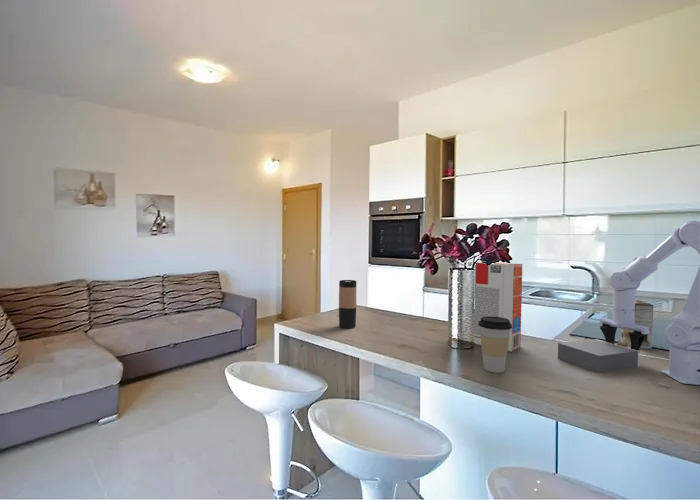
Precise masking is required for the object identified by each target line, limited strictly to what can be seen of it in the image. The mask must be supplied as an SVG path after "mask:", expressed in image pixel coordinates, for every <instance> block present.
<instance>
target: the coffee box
mask: <svg viewBox="0 0 700 500" xmlns="http://www.w3.org/2000/svg"><path fill="white" fill-rule="evenodd" d="M653 319H654V304H652V303H649V302H645V301H642V300H635V315H634V324H637V325H641V326H644V327H648V328H649V334H648V336H647V337H646V339H645V340H644V341H643V343H642V345H641V347H640V349H651V350H652V347H653V346H652V345H653V343H652V342H653V322H654V320H653ZM620 329H621V328H620ZM620 332H621V333H620V341H622V342H626V343H628V347H631V341H630V337H629V333H630V332H634V331H630V330H626V329H621V331H620Z"/></svg>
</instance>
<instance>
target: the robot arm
mask: <svg viewBox="0 0 700 500" xmlns="http://www.w3.org/2000/svg"><path fill="white" fill-rule="evenodd" d="M687 247H690V248H692V249H694V250H695V251H696V252H697V253H698V254H699V255H700V221H698V220H690V221H689V220H688V221H686V222H684V223H682V225H681V226H680V227H678V228H676V229H675V230H673V232H672V233H671V234H670V236H668V238H666V239H665V240H664V241H662V243H661V244H659V245H658V246H657V247H656V248H655V249H654V250H652V251H651V253H649V254H647V256H646V255H641V256H638V257H637V256H636V257H634V258H633V259H632V262H631V263H629V265H627V266H626V267H623V268H622V269H621V271H617V272H613V273H612V274H611V276H610V277H609V280H608V281H609V285H610V287H611V288H612V289H613V292H612V293H613V294H612V295H613V296H612V319H611V318H610V319H609V318H604V317H601V318H599V322H598V323H599V325H600V326H599V329H600V331H601V332H602V335H603V336H604V339H605V342H608V343H612V344H616V343H615V341H616V340H615V338H616V334H617V329H626V330H630V331H634V332H630V333H629V337H630V341H631V346H630V349H634V350H637V351H640V349H641V348H640V347H641V345H642V343H643V341H644V340H645V339H646V337H647V336H648V334H649V328H648V327H644V326H641V325H637V324H634V315H635V301H636V293H637V289H638V288H640V285H641V283H642V282H643V281H644V280H645V279H647V278H648V277H650V276H651V275H652V274H653V273H655V272H656V271H657V270H658V265H659V264H660V263H662V262H663V261H664V260H666V259H667V258H669V257H670V256H672V255H673V254H675V253H677V252H678V251H680V250H681V249H683V248H687ZM663 334H664V338H665V339H666V341H667V342H668V343H669V344H668V345H669V357H668V358H669V359H668V369H667V370H665V369H661V370H660V372H661V373H663V374H664V375H667V376H668V377H670V378H672V379H674V380H676V381H678V382H679V383H681V384H684V385H697V386H700V266H699V267H698V270H697V272H696V275H695V278H694V280H693V283H692V285H691V287H690V290H689V291H688V295H687V297H686V300H685V303H684V305H683V307H682V310H681V311H680V312H679V313H678V314H677V315H676V316H674V318H673V320H672V322H671V323H669V324H668V325H667V326H666V327H665V329H664V333H663Z"/></svg>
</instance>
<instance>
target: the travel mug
mask: <svg viewBox="0 0 700 500" xmlns="http://www.w3.org/2000/svg"><path fill="white" fill-rule="evenodd" d="M357 283H358V281H357V280H355V279H342V280H339V282H338V285H339V286H338V325H339V326H338V327H339V328H340V329H350V330H351V329H355V328H356V325H357V323H356V322H357Z"/></svg>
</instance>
